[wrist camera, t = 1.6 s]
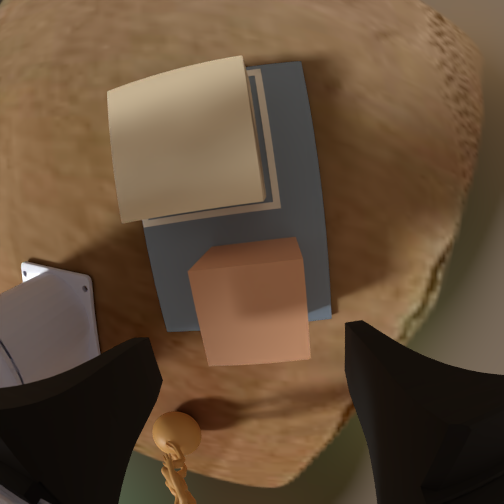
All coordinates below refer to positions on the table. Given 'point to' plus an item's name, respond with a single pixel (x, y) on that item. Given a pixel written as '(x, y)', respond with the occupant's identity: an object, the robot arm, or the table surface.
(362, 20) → the table surface
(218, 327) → the terracotta cube
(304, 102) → the mat
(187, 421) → the figurine
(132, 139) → the maple base block
